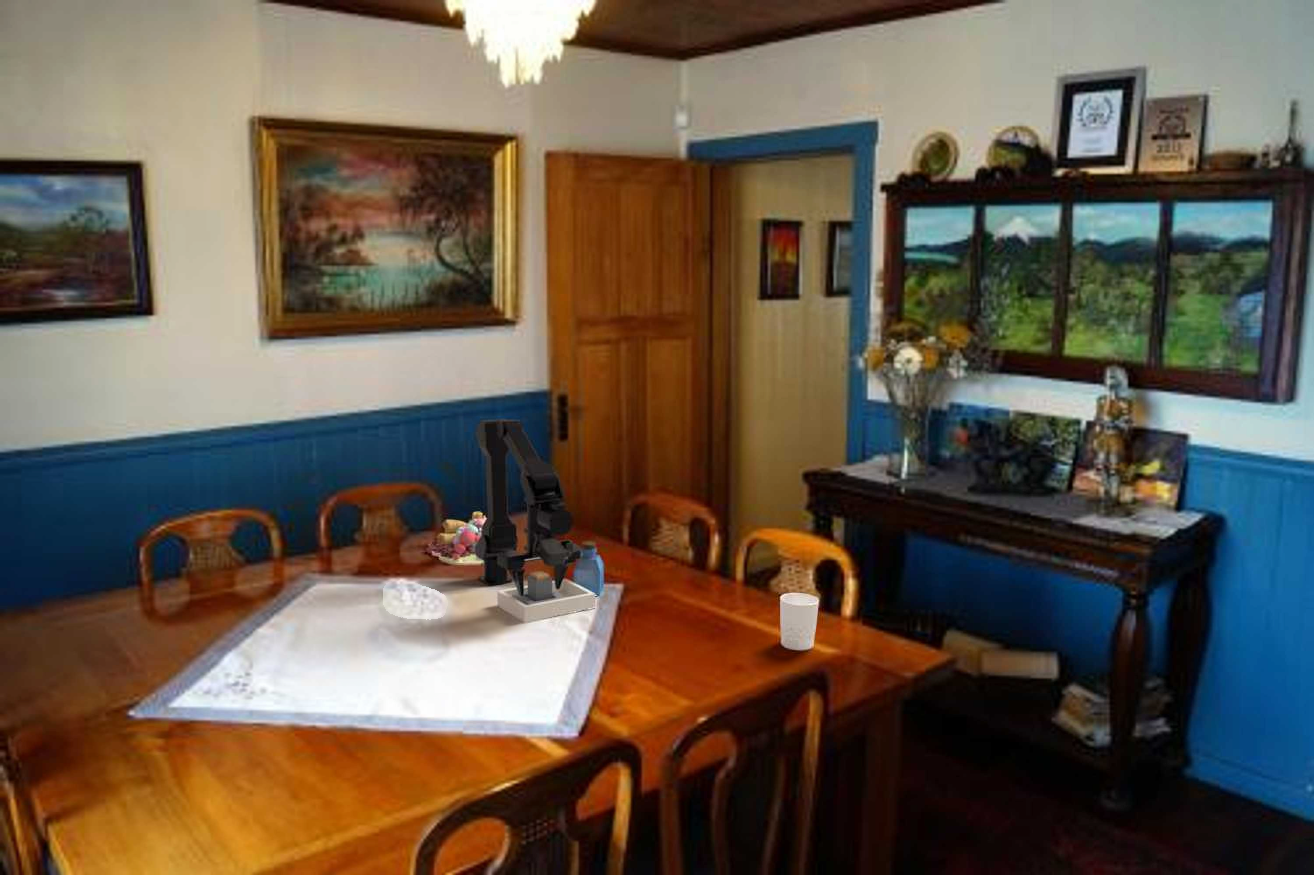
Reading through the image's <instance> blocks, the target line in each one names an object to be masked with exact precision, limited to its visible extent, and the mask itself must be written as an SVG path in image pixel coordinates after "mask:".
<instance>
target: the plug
mask: <svg viewBox="0 0 1314 875" xmlns="http://www.w3.org/2000/svg"><path fill="white" fill-rule="evenodd" d="M552 581H553V577H551V576H550V573H548V572H545V571H544V570H539V571H534V572H530V575H528V576H527V586H528V598H529V599H531V600H533V601H534V602H536V601H541V600H547V599H552Z"/></svg>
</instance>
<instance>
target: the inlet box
mask: <svg viewBox="0 0 1314 875" xmlns="http://www.w3.org/2000/svg"><path fill="white" fill-rule="evenodd" d="M496 595H497V607H499V608H500V609H502V610H504V611H505V612H506V613H508V614H510V615H511V616H513V617H515V618H516V619H518V620H519V621H521V622H523V623H524V624H525V623H530V622H536V621H541V620H545V619H544V618H546V619H549V618H548V617H551V618H555V617H554V616H556V617H558V616H557V615H561V616H563V615H562V614H566V615H568V614H567V613H570V612H574V611H578V610H584V609H588V608H593V607H595V608H596V597H595V593H593V592H591V591H589V590H587V589H585V588H583V587H582V586H580V585H578V584H576V583H574V581H572V580H569V579H568V578H563V581H562V584H561V586H560V589H556V587H555V580H552V599H547V600H541V601H536V602H534V601H533V600H531V599H529V598H528V585H525V586H524V594H523V596H520V595H519V592H518V590H517V588H516V587H512V588H508V589H500V590H497V594H496Z"/></svg>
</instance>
